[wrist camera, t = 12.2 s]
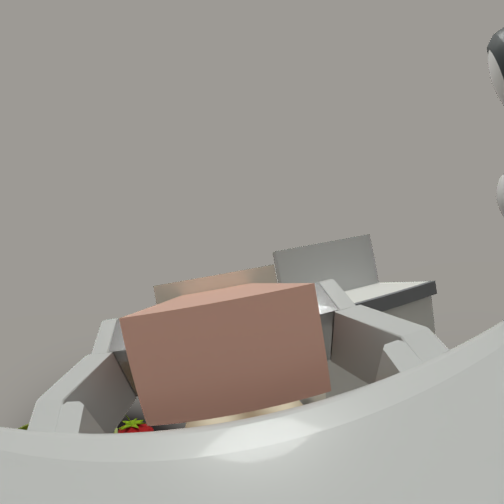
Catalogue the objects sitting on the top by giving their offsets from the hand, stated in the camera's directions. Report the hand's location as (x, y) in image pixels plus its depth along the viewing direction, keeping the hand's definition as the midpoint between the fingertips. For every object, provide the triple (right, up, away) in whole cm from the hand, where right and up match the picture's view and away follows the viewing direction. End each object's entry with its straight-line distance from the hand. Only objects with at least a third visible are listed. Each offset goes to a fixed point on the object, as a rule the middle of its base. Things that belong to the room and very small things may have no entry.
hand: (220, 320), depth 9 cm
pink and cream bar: (0, -2, +6) cm, 6 cm away
